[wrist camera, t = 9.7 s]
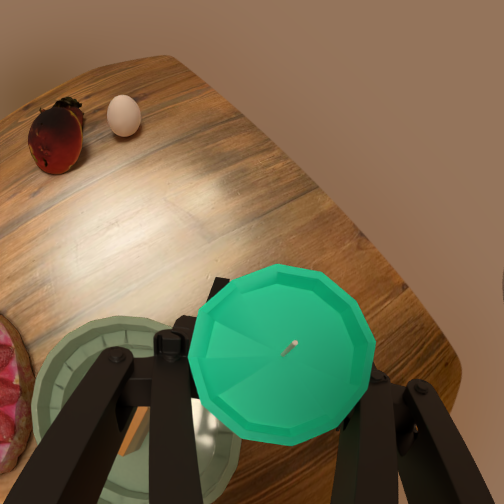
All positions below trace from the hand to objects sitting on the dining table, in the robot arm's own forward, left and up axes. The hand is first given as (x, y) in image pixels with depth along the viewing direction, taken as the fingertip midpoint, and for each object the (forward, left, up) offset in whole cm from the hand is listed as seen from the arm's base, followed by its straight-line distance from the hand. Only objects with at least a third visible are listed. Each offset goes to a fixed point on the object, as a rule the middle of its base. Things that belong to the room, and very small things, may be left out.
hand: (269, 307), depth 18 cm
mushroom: (+43, -16, -18) cm, 49 cm away
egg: (+32, -22, -18) cm, 43 cm away
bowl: (+7, +12, -17) cm, 22 cm away
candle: (-1, +4, -3) cm, 5 cm away
